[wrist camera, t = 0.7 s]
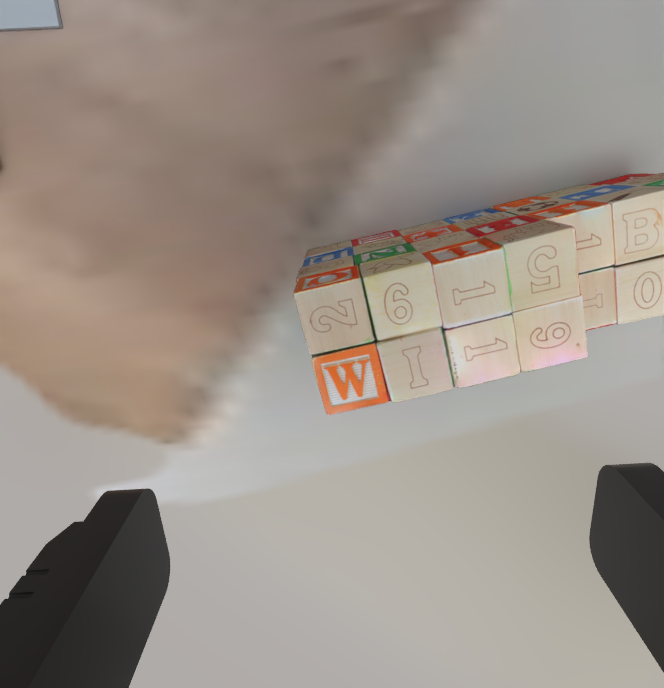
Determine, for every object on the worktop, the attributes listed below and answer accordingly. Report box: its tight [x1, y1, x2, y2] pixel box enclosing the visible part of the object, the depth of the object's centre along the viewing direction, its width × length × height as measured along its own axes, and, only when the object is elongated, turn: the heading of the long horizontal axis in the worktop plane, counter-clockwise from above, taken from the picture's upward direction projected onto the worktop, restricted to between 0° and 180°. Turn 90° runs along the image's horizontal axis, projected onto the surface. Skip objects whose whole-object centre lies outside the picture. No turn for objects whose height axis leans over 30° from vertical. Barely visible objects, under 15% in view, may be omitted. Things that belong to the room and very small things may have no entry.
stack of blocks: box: [293, 173, 664, 415], centre depth 27 cm, size 21×6×12 cm, turn 104°
